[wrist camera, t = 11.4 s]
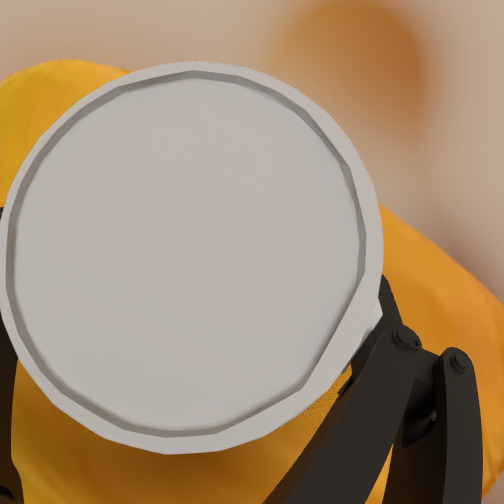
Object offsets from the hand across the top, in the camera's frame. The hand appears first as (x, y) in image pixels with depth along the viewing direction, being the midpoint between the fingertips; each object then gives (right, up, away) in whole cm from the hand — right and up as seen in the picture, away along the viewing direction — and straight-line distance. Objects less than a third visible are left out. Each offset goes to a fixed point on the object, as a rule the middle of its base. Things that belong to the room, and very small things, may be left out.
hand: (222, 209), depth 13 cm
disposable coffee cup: (-1, -4, +4) cm, 6 cm away
